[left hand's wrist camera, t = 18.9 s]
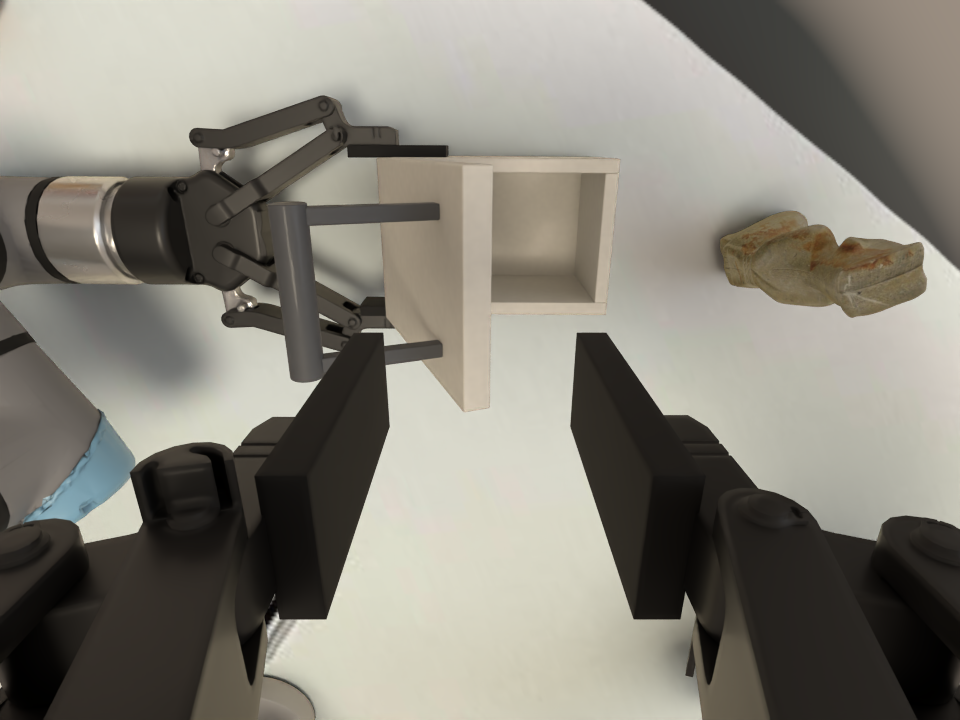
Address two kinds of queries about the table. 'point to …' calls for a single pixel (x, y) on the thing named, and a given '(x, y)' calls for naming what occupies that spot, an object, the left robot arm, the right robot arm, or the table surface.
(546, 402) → the table surface
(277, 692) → the bust sculpture
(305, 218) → the lid
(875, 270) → the sculpture
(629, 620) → the table surface
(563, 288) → the chest
